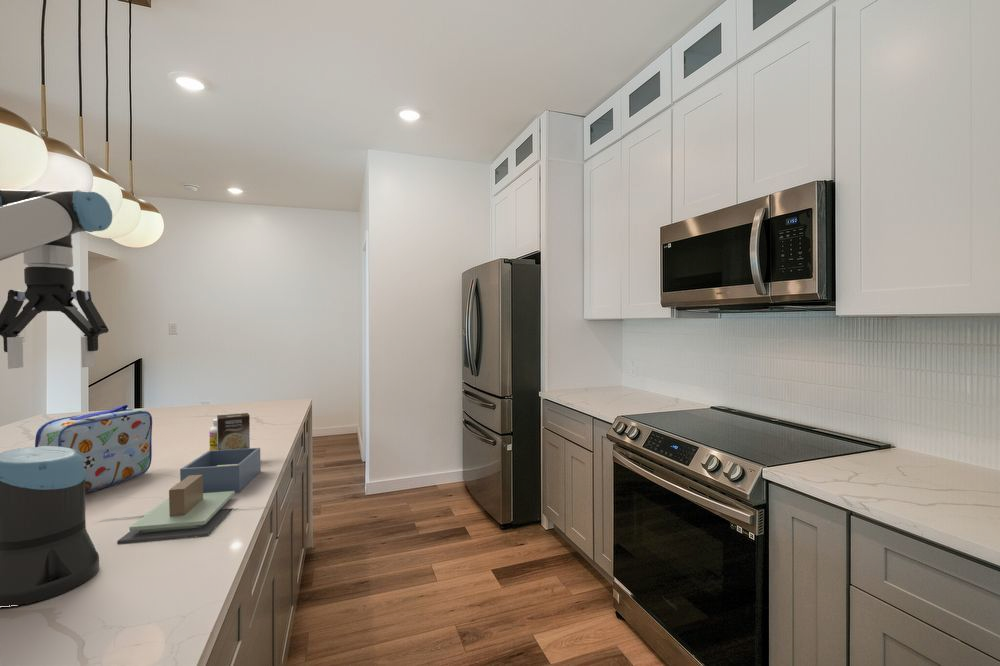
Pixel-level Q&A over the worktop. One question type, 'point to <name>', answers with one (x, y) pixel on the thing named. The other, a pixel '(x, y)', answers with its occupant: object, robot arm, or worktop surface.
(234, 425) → the coffee box
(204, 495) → the lid
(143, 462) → the lunch box
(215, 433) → the supplement bottle
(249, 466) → the storage box
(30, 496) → the robot arm
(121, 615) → the worktop surface
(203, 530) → the mat
